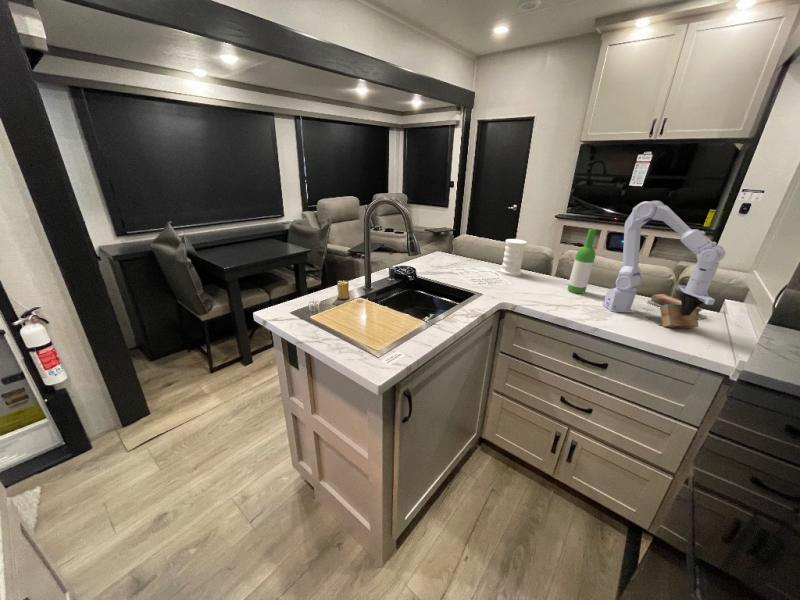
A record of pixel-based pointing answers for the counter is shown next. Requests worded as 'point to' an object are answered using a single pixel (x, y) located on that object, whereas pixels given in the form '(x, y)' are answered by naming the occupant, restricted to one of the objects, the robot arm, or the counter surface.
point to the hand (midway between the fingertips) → (685, 314)
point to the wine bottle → (582, 265)
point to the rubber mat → (656, 320)
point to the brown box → (677, 317)
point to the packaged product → (669, 302)
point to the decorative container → (513, 257)
